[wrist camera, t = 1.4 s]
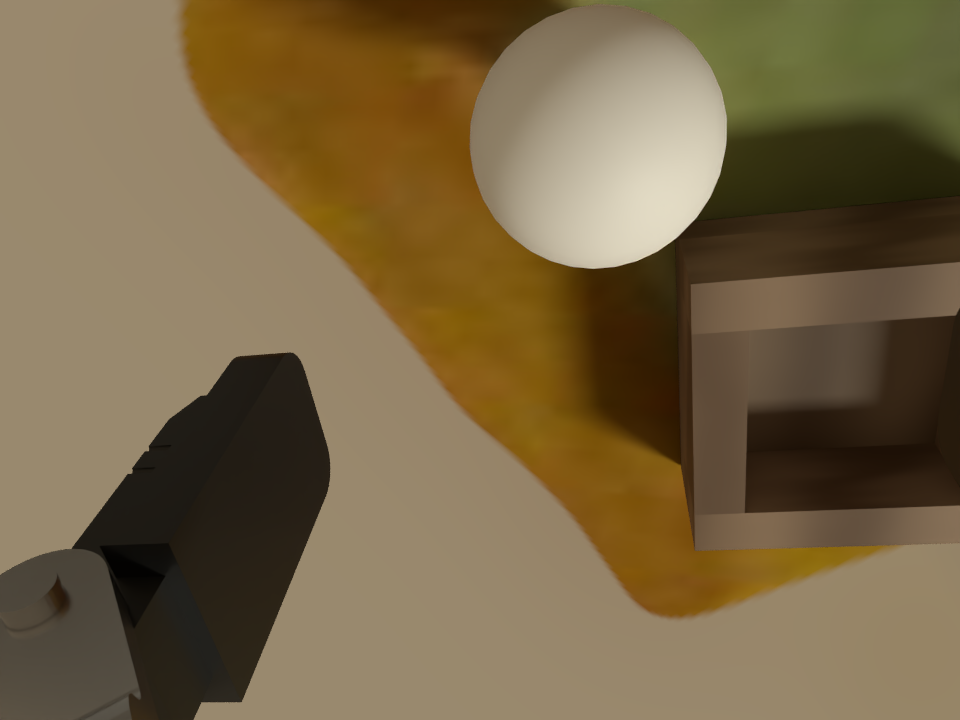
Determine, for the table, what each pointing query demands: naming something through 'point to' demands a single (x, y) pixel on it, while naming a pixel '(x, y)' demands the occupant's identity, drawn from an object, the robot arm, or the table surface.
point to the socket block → (818, 375)
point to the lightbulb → (598, 136)
